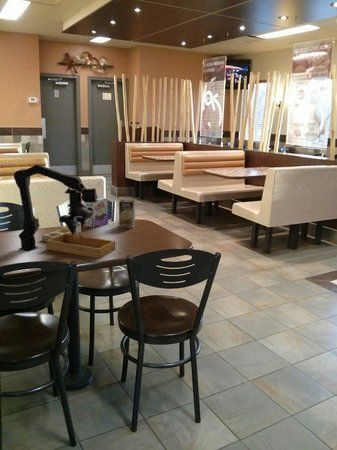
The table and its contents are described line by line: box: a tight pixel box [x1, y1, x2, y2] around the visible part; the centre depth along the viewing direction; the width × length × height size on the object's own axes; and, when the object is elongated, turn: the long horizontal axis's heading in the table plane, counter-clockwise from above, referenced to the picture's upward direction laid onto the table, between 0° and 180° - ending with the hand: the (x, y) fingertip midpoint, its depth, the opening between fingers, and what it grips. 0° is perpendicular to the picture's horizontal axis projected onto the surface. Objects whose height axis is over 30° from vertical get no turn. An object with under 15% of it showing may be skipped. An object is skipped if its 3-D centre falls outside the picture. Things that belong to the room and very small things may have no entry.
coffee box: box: [118, 199, 136, 229], centre depth 247 cm, size 9×6×16 cm
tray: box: [45, 233, 116, 259], centre depth 202 cm, size 31×15×6 cm, turn 67°
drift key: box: [60, 226, 70, 232], centre depth 226 cm, size 2×5×5 cm, turn 64°
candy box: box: [84, 197, 109, 229], centre depth 250 cm, size 14×6×16 cm, turn 143°
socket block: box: [41, 228, 71, 242], centre depth 222 cm, size 16×10×3 cm, turn 154°
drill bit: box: [73, 220, 82, 241], centre depth 201 cm, size 4×4×9 cm
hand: (76, 232), depth 202 cm, fingers open, 6 cm apart
